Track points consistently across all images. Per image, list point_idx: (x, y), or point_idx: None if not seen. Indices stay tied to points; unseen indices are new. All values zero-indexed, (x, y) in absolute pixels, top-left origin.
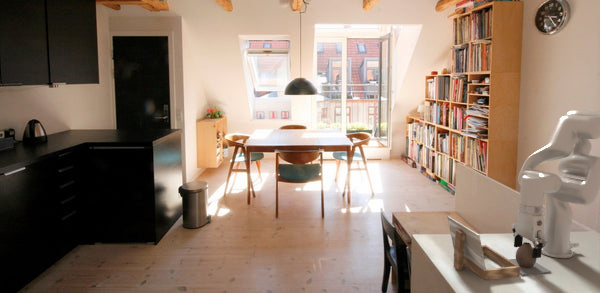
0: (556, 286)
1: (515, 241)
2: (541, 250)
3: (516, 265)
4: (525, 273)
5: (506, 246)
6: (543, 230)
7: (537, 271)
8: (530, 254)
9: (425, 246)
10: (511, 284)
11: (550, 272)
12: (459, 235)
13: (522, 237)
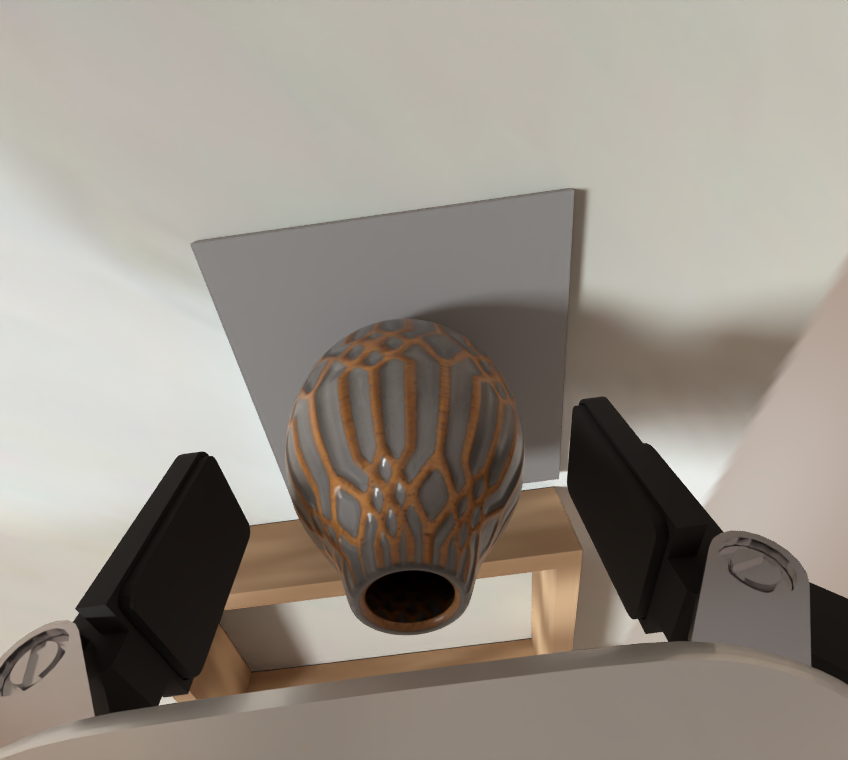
0: (793, 321)
1: (213, 612)
2: (664, 472)
3: (547, 562)
4: (548, 450)
5: None
6: None
7: (541, 340)
8: (519, 495)
9: None
10: None
11: (568, 196)
12: None
13: (117, 593)
